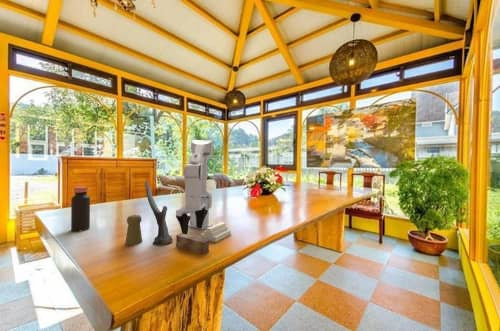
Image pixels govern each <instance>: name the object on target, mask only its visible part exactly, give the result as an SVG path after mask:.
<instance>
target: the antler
mask: <svg viewBox="0 0 500 331" xmlns="http://www.w3.org/2000/svg"><path fill="white" fill-rule="evenodd" d="M149 184H150V183H148V180H147V181H145V183H144V187H145V192H146V197H147V200H148V204H149V206H150V209H151V211H152V213H153V215H154V216H155V221H156V224H157V227H158V229H157V230H158V231H157V236H156V237H154V239H153V242H152V244H153V245H154V246H155V245H157V246H158V245H159V246H163V245H166V244H169V243H172V241H173V240H174V238H173V237H172V235H170V234H169V228H168V225H167V223H166V222H167V221H166V216H167V211H168V206H166V205H164V206H162V209H161V211H160V209H159V207H158V206H157V204H156V200H154V197H153V194H152V191H151V189H150V185H149Z"/></svg>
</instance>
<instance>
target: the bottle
mask: <svg viewBox="0 0 500 331" xmlns="http://www.w3.org/2000/svg"><path fill="white" fill-rule="evenodd" d="M88 191H89V190H88V186H76V187H75V186H74V187H73V193H74V196H72V197H71V205H70V206H71V209H70V210H71V217H70V231H71V232H74V233H75V232H77V233H78V232H83V231H87V230H90V227H91V224H90V223H91V197H90V195H88Z"/></svg>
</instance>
